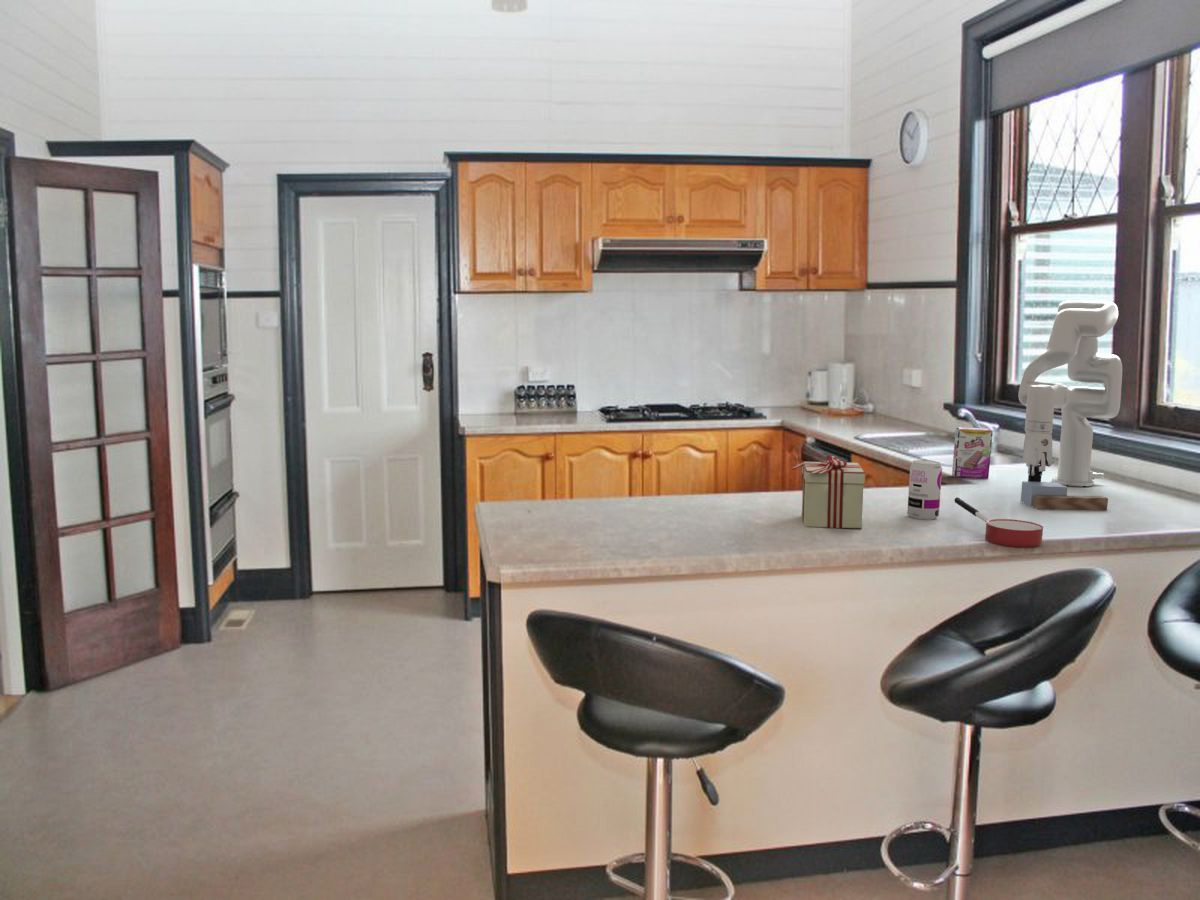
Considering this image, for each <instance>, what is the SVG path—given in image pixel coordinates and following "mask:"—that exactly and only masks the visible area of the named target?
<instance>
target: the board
mask: <svg viewBox="0 0 1200 900" xmlns="http://www.w3.org/2000/svg"><path fill="white" fill-rule="evenodd" d="M1108 501H1109V498H1108V497H1106V496H1103V495H1070V494H1069V495H1068V494H1067V495H1034V501H1033V507H1032V508H1035V509H1037V510H1045V509H1049V510H1053V511H1054V510H1055V509H1062V510H1061V511H1063V510H1064V511H1067V510H1068V511H1108V503H1109V502H1108ZM1049 510H1048V511H1049ZM1045 511H1046V510H1045ZM1055 511H1056V510H1055Z"/></svg>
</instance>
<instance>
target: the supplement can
mask: <svg viewBox="0 0 1200 900" xmlns="http://www.w3.org/2000/svg"><path fill="white" fill-rule="evenodd" d="M909 468H910V469H909V479H908V480H909V483H908V497H907V498H908V499H907V513H906V514H907V515H908V517H910V518H911V519H916V520H923V521H928V520H930V521H931V520H936V519H937V518H938V517H939V516H940V503H941V487H942V477H943V476H942V475H943V467H942V466H941V462H939V461H935V460H927V459H926V460H925V459H924V460H923V459H921V460H919V459H917V460H913V461H912V463H911V464H910V466H909Z"/></svg>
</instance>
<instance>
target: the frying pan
mask: <svg viewBox="0 0 1200 900" xmlns="http://www.w3.org/2000/svg"><path fill="white" fill-rule="evenodd" d="M953 501H954V503H955V504H957V505H958V506H960V508H963V509H964V510H966V511H967V512H969V513H970V514H972V515H973V516H975V517H978V518H979V519H981V520H982V521H983V522H984V523H985V532H984V538H985V540H986V541H987V542H988V543H990V544H991V543H992V544H994V545H998V546H1003V547H1010V548H1019V549H1020V548H1021V549H1023V548H1024V549H1028V548H1029V549H1031V548H1037V547H1040V546H1041V545H1042V543H1043V535H1044V532H1043V531H1044V527H1043V526H1042V525H1041V524H1040V523H1036V522H1032V521H1026V520H1021V519H1005V518H999V519H998V518H997V519H989V518H988V517H987V516H985V515H983V514H982V513H981V512H980V511H979V510H978V509H976V508H975V507H973V506H972V505H970V504H969V503H967V502H965V500H963V499H961V498H960V497H955V498H954V500H953Z"/></svg>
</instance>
